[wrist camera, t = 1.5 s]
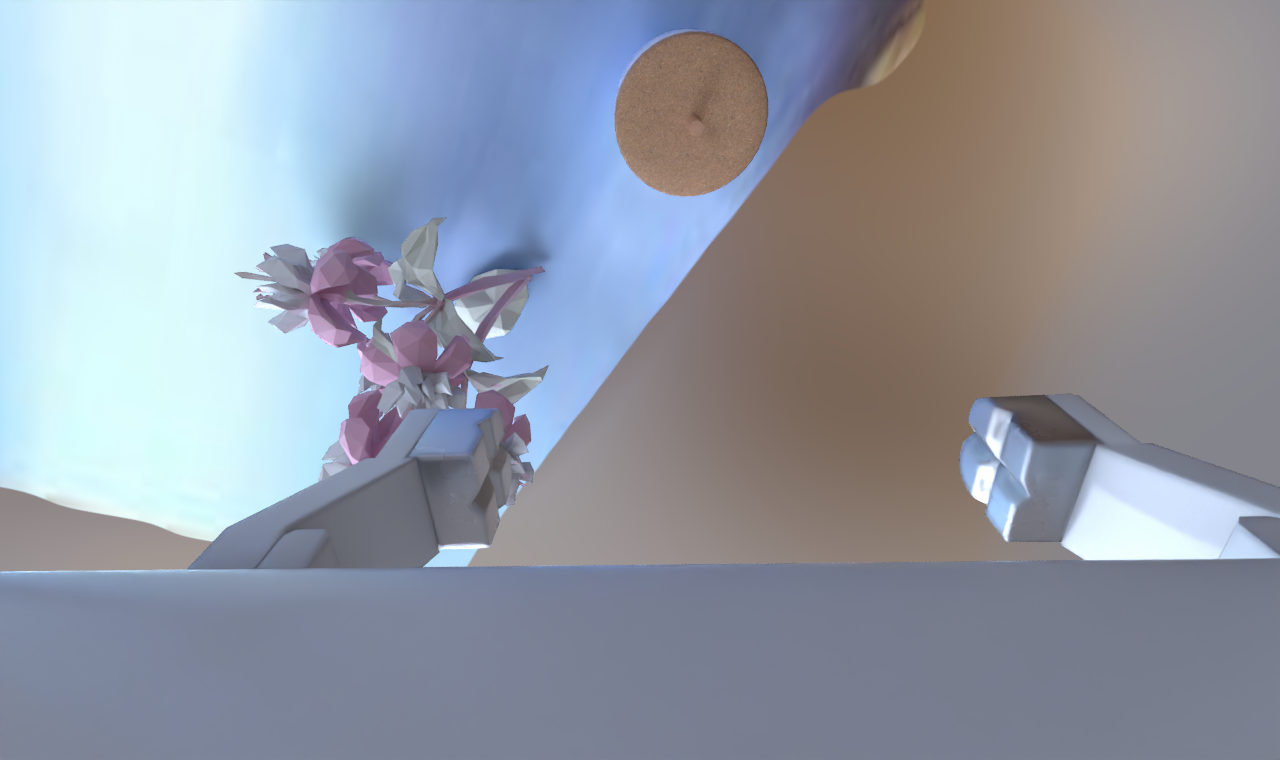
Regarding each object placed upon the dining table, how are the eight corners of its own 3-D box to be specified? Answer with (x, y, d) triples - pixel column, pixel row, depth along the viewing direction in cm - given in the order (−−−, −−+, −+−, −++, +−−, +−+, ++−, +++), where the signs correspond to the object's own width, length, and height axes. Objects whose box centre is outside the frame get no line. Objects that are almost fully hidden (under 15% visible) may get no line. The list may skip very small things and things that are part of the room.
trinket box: (729, 166, 52) (757, 209, 44) (604, 159, 50) (612, 202, 43) (755, 22, 45) (792, 44, 38) (612, 10, 44) (622, 30, 36)
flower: (447, 68, 44) (181, 287, 28) (642, 288, 54) (523, 537, 38) (339, 193, 57) (118, 388, 42) (512, 350, 67) (385, 555, 52)
